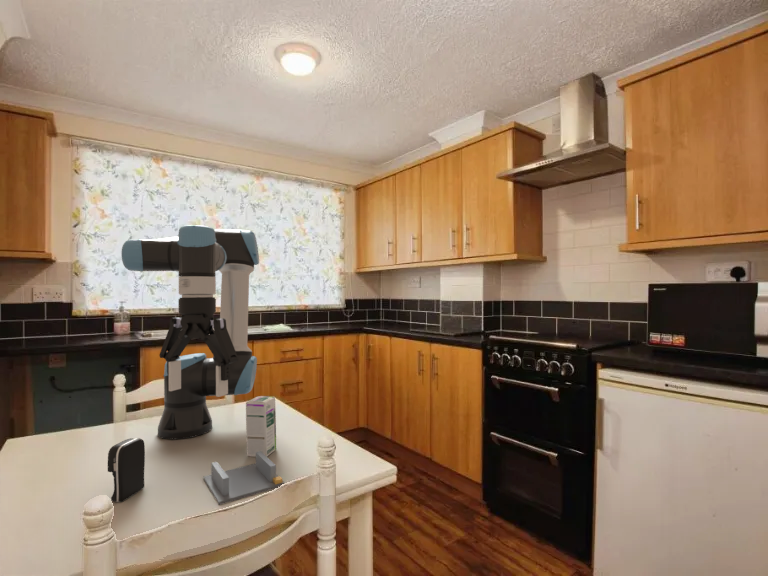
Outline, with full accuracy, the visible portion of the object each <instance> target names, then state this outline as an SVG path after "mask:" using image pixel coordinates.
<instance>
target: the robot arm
mask: <svg viewBox="0 0 768 576" xmlns="http://www.w3.org/2000/svg"><path fill="white" fill-rule="evenodd" d="M258 247H259V246H258V241H257V238H256V234H255V232H254V231H252V230H247V229H240V228H239V229H218V228H217V229H215V228H213V227H211V226H207V225H196V224H195V225H193V224H192V225H191V224H188V225H183V226H181V227H179V230H178V235H176V236H171V237H164V238H152V239H141V238H138V239H127V240H126V241H125V242H124V243H123V244H122V248H121V261H122V264H123V266H124V268H125V269H127V270H128V271H130V272H131V271H132V272H141V273H143V272H178V295H179V296H181V297H179V298H178V314H180V315H181V316H180V317H170V318H169V328H168V331H167V332H166V333H167V334H166V336H165V339H164V342H163V343H162V348H161V350H160V352H159V358H160V359H164V360H165V364H164V371H163V372H164V373H163V390H164V391H163V395H164V396H163V401H164V404H163V406H164V407H163V411H162V414H161V417H160V420H159V423H158V426H157V437H159V438H161V439H165V440H183V439H189V438H190V439H191V438H195V437H198V436H201V435H203V434H206V433H208V432H210V431H211V430H212V429H213V419H212V417H211V414H210V411H209V408H208V405H207V397H216V398H221V397H223V396H239V395H246V394H249V393H250V392H251V391H252V390H253V388H254V383H255V380H256V373H257V368H258V367H257V365H258V364H257V363H258V358H257V356H255V355H253V351H252V350H253V349H251V348H250V347H249V345H248V337H249V335H248V331H249V330H248V329H249V328H248V327H249V299H250V298H249V290H250V289H249V288H250V286H249V285H250V275H251V273H253V272H254V271H255V266H257V265H259V264H260V256H259V255H260V254H259V248H258ZM217 271H219V272H220V273H221V283H220V285H221V289H220V308H219V309H220V310H219V311H220V312H219V313H220V314H219V318H215V319H214V314H216V312H217V299H216V297H214V295H216V294H217V289H216V288H217V287H216V283H217V282H216V280H217V279H216V272H217ZM192 339H193V340H194V339H196V340H201V341H202V342H204V343H205V344H206V345H207V347H208V349H209V350H210V352H211V354H212V356H213V357H209V358H208V356H207V353H204V352H202V353H201V352H199V353H191V354H190V353H189V354H185V355H182V353H183V352H184V350H185V348H186V347H187V345H188V344H189V342H190V341H191V340H192Z"/></svg>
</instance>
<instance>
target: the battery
mask: <svg viewBox="0 0 768 576" xmlns="http://www.w3.org/2000/svg"><path fill="white" fill-rule="evenodd" d="M145 448H146V447H145V442H144V440H143V439H142V438H139V437H137V438H132V437H131V438H127V439H124V440H122V441H120V442H118V443H115V444H114V445H112V446H111V447H110V448H109V450H108V453H107V473H111V474H112V476H113V487H114V488H113V493H112V495H111V497H110V499H111V500H110V501H112V502H116V503H122V502H124V501H126V500H127V499H129V498H131V497H133V496H134V495H136V494H137V493H138V492H140V491H142V490H143V489H144V488H145V463H146V462H145V461H146V460H145V459H146V458H145V457H146V456H145V455H146V454H145V453H146V449H145Z"/></svg>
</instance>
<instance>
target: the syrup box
mask: <svg viewBox="0 0 768 576" xmlns="http://www.w3.org/2000/svg"><path fill="white" fill-rule="evenodd" d="M276 417H277V415H276V397H275V396H269V395H267V396H266V395H260V396H255V397H254V398H252V399H250V400H247V401H246V402H245V430H246V435H245V436H246V437H245V438H246V456H247V457H251V458H256V452H259V451H261V452H262V453H263V454H264V455H265V456H266V457H267V458H268V456H269V455H271V454H272V453H274V452H275V451H276V450H277V427H276V425H277V424H276V423H277V420H276V419H277V418H276Z"/></svg>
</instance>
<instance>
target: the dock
mask: <svg viewBox="0 0 768 576" xmlns="http://www.w3.org/2000/svg"><path fill="white" fill-rule="evenodd" d="M210 464H211V468H210V470H211V472H210V473H211V474H208V475H204V476H203V478H202V479H203V481H204V483H205V484H206V486H207V487H208V489H209V491H210V492H211V494H212V496H213V497H214V499H215V501H216V502H217V504H218V505H223V504H226V503H230V502H233V501H236V500H239V499H243V498H246V497H250V496H253V495H257V494H261V493H264V492H267V491H270V490H273V489H277V488H279V487H278V486H280V485H282V484H284V483H285V484H286V482H285V481H284V480H283V478H282V477H281V476H280V475H277V466H276V464H275V462H273V461H272V460H271V459H269V458H268V456H267V457H266V456H265V455H264V454H263V453H262V452H261V451H259V452H256V457H255V463H251V464H247V465H244V466H239V467H236V468H231V469H227V470H224V469H223V468H222V466H221V465H220V464H219V462H218V461H214V462H211V463H210ZM276 487H277V488H276Z"/></svg>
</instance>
